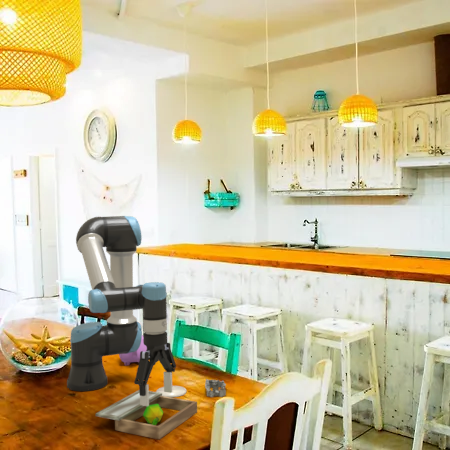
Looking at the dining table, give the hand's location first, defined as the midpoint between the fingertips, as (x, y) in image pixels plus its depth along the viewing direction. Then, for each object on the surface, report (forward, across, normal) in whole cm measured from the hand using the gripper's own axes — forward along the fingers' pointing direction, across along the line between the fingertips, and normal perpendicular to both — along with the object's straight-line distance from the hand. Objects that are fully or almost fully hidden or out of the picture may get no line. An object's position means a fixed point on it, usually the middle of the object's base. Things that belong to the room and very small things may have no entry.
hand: (156, 398), depth 174 cm
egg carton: (+8, +32, -4) cm, 33 cm away
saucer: (+7, +25, +10) cm, 28 cm away
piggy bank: (+7, +52, +46) cm, 70 cm away
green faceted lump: (+8, -2, 0) cm, 8 cm away
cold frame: (+7, +1, +4) cm, 8 cm away
